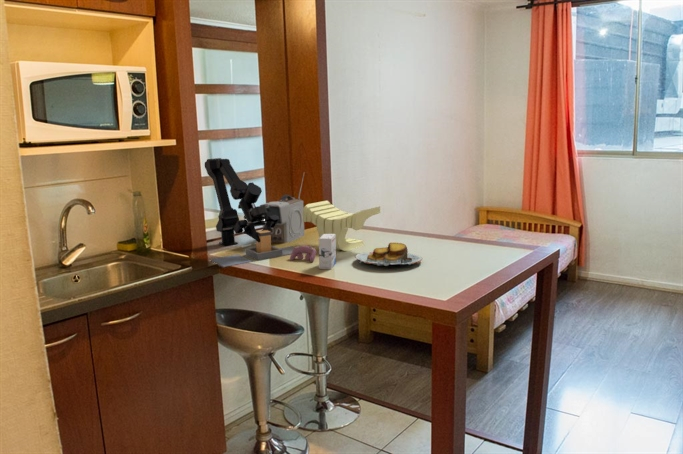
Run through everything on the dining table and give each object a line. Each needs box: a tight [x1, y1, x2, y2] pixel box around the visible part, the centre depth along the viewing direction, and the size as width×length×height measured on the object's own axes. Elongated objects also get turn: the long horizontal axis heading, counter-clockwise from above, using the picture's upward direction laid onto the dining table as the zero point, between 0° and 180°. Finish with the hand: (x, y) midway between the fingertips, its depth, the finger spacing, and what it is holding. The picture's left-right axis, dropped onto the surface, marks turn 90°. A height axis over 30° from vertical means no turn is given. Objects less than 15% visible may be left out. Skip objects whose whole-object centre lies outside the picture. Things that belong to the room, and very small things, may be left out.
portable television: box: [259, 172, 305, 244], centre depth 260 cm, size 12×24×30 cm, turn 157°
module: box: [255, 229, 272, 253], centre depth 232 cm, size 5×5×10 cm
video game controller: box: [289, 245, 317, 263], centre depth 225 cm, size 10×5×7 cm, turn 71°
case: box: [245, 245, 296, 261], centre depth 236 cm, size 11×22×3 cm, turn 125°
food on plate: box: [355, 242, 423, 267], centre depth 219 cm, size 25×25×7 cm
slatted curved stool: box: [303, 200, 381, 252], centre depth 245 cm, size 30×16×18 cm, turn 49°
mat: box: [209, 254, 254, 269], centre depth 226 cm, size 14×12×1 cm
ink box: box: [318, 234, 337, 270], centre depth 215 cm, size 9×5×12 cm, turn 168°
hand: (265, 240), depth 231 cm, fingers closed on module, 5 cm apart
